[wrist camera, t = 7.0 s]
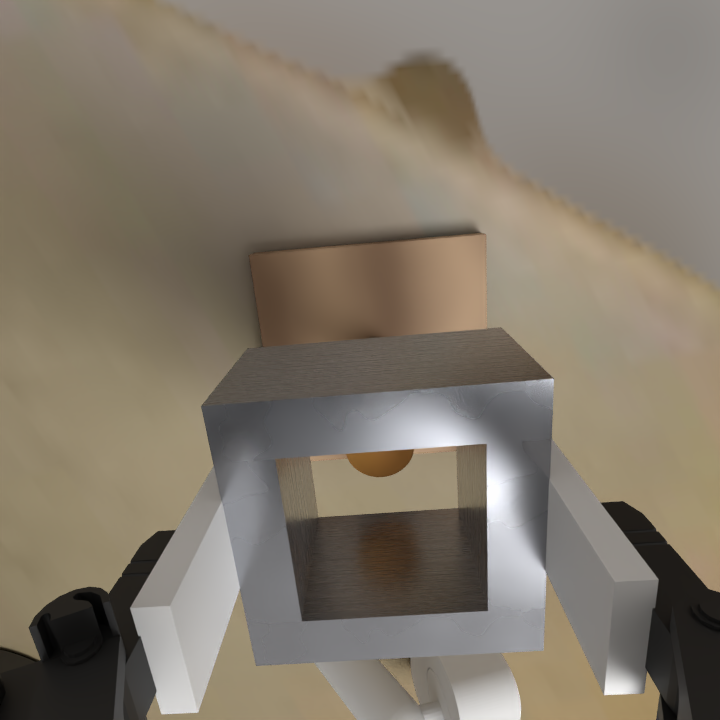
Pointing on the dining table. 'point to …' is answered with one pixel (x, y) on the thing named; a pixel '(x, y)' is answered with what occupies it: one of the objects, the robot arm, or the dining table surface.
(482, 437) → the link
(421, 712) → the wall hook
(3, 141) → the dining table surface
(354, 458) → the keeper
